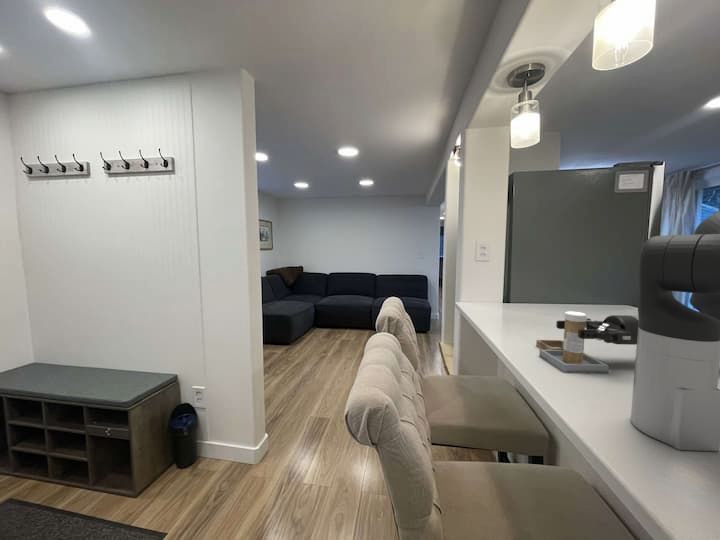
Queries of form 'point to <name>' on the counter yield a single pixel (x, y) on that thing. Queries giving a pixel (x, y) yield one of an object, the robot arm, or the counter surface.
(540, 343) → the wooden picture frame
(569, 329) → the sprinkles bottle
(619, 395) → the counter surface
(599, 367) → the slate tray
